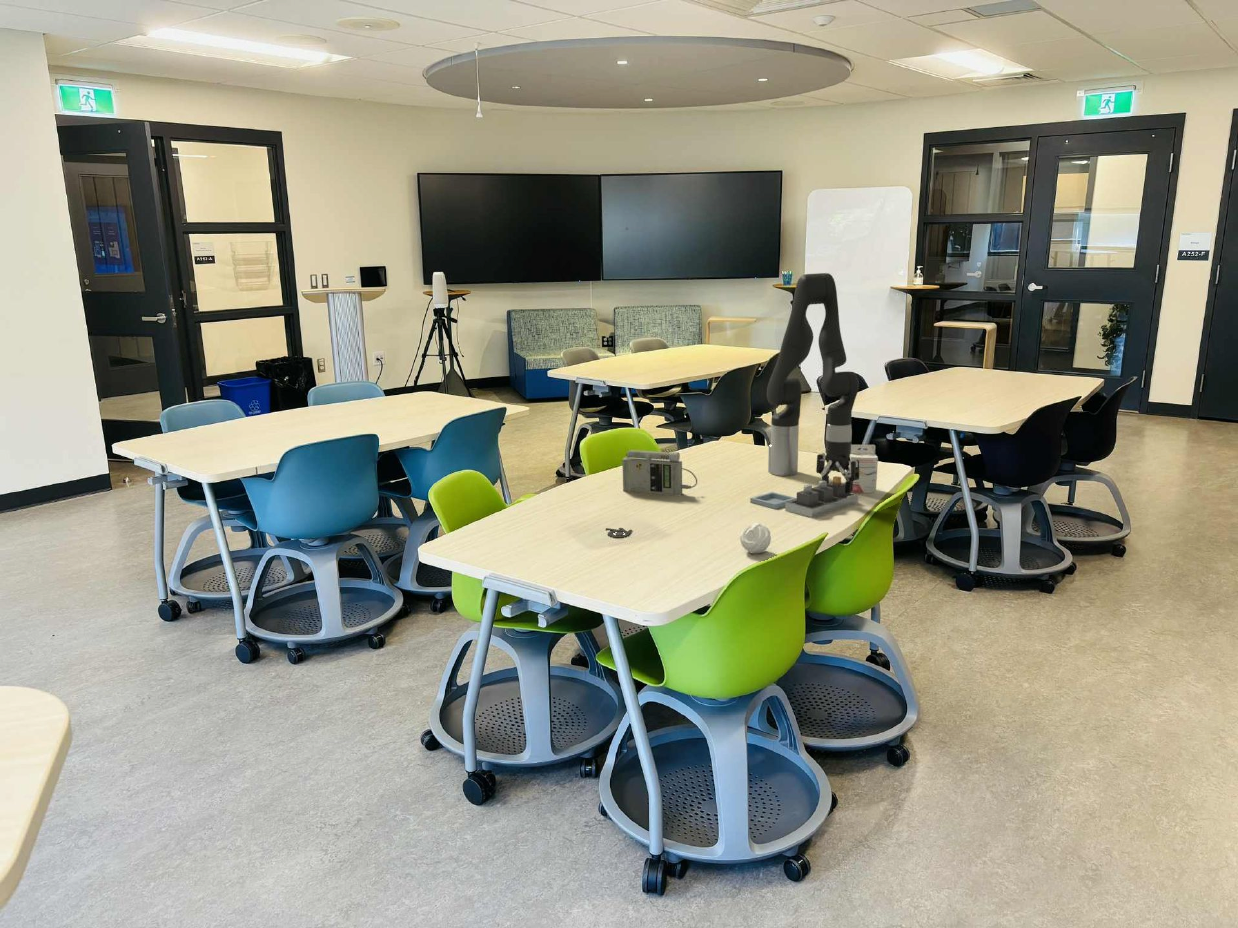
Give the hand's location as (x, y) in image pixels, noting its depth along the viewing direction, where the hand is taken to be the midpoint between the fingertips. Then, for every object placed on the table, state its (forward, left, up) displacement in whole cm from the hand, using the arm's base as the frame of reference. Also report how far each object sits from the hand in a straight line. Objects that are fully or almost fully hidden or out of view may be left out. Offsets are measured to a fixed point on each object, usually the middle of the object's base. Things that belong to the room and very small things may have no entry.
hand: (836, 490), depth 276 cm
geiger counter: (-47, -30, -4) cm, 56 cm away
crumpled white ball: (+13, -51, -4) cm, 53 cm away
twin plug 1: (0, -14, -4) cm, 15 cm away
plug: (0, 0, -4) cm, 4 cm away
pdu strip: (0, -7, -4) cm, 8 cm away
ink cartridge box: (-3, +17, -4) cm, 18 cm away
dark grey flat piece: (-27, -66, -5) cm, 71 cm away
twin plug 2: (0, -7, -4) cm, 8 cm away
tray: (-13, -14, -4) cm, 20 cm away
